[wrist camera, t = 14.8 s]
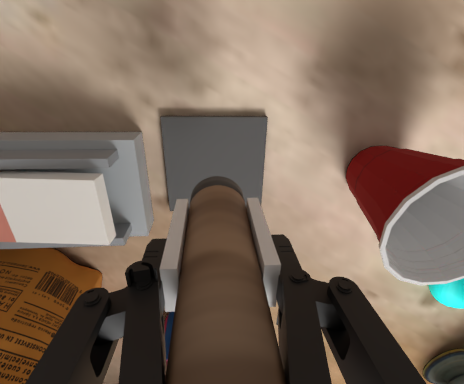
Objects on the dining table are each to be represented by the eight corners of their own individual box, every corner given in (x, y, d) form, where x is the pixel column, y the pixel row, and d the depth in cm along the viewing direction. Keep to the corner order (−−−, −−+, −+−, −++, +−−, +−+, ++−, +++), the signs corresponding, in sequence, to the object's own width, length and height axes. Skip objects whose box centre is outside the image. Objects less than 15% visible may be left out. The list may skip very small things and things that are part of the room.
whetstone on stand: (153, 220, 30) (142, 251, 25) (-36, 224, 28) (-88, 259, 23) (141, 131, 25) (125, 148, 20) (-84, 132, 24) (-161, 150, 19)
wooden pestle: (242, 221, 21) (298, 510, 8) (192, 223, 21) (158, 526, 7) (244, 175, 19) (322, 451, 6) (188, 176, 19) (136, 468, 5)
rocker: (102, 173, 21) (93, 180, 20) (116, 235, 24) (109, 245, 22) (-94, 168, 21) (-115, 175, 20) (-59, 230, 24) (-75, 239, 23)
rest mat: (259, 206, 30) (260, 209, 29) (170, 208, 29) (169, 210, 29) (266, 116, 25) (267, 117, 25) (161, 115, 25) (160, 117, 24)
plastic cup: (301, 190, 29) (354, 263, 19) (368, 102, 26) (482, 130, 15) (370, 227, 32) (450, 309, 22) (439, 154, 29) (576, 208, 18)
